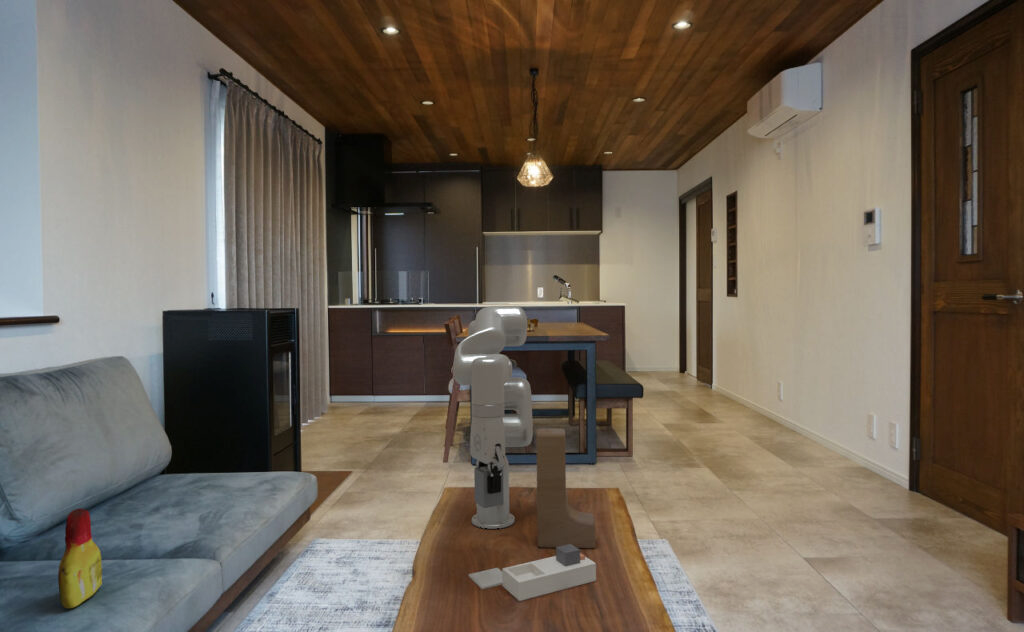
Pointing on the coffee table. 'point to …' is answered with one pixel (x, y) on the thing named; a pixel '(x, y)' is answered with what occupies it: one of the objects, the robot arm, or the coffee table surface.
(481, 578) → the felt pad
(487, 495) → the block
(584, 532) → the decorative block
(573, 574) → the power strip
